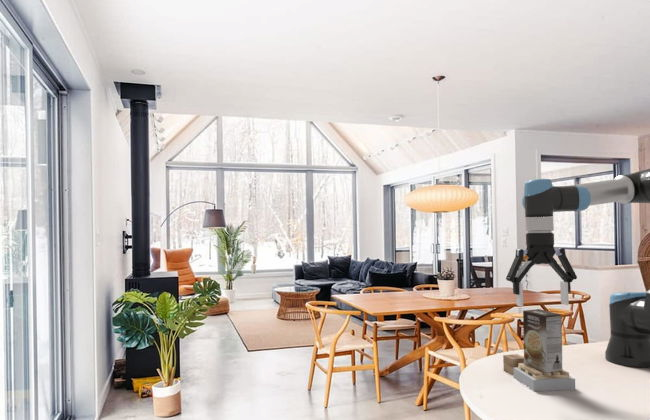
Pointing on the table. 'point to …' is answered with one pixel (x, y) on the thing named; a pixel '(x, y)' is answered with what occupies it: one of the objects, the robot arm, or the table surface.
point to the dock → (544, 382)
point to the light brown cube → (511, 362)
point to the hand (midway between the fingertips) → (542, 305)
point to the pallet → (543, 375)
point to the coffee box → (542, 340)
